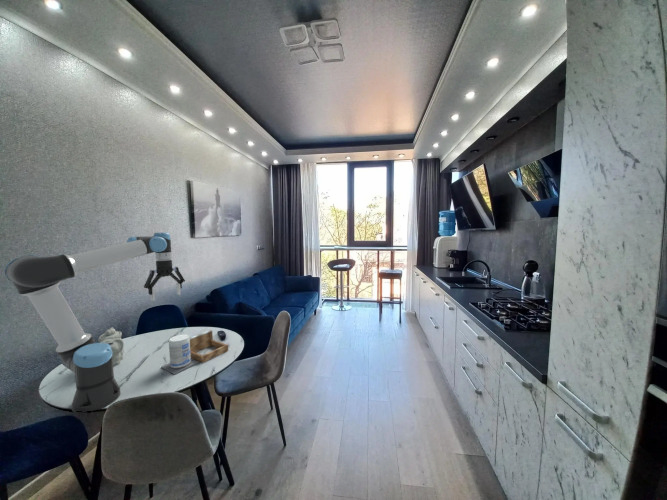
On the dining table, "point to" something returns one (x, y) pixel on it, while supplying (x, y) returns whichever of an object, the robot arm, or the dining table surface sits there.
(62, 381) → the dining table surface
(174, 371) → the mat
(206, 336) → the frame
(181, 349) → the supplement tub
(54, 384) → the dining table surface
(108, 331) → the beige lumpy upright piece
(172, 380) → the dining table surface
